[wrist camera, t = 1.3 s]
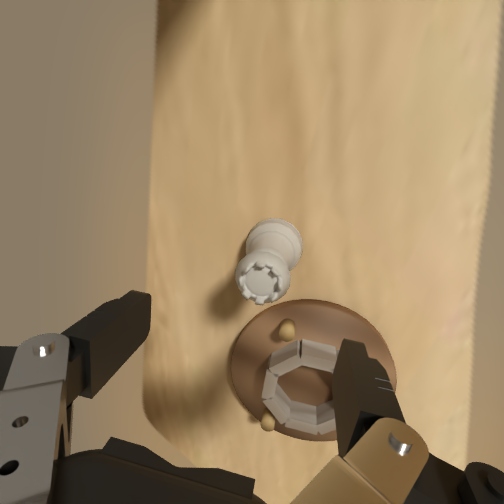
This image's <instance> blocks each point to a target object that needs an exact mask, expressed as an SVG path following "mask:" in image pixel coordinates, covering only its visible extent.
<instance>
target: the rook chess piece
mask: <svg viewBox="0 0 504 504" xmlns="http://www.w3.org/2000/svg"><path fill="white" fill-rule="evenodd" d="M302 249H303V241H302V238H301V236H300V233H299V231H298V230H297V229H296V228H295V227H294V226H293V225H292V224H291V223H289V222H287V221H285V220H283V219H274V218H269V219H267V220H264V221H261V222H259V223H258V224H257V225H256V226H254V227H253V228H252V229H251V232H250V234H249V236H248V238H247V241H246V256H245V257H244V258H243V259H242V260H240V261H239V264H238V266H237V268H236V270H235V281H236V283H237V286H238V288H239V290H240V291H241V292H242V293H241V295H242V296H243V297H244V298H245V299H246V300H248V298H249V299H251V300H253V301H255V304H257V305H264V303H270V302H271V303H272V302H274V301H277V300H278V299H280V298H281V297H282V296H284V295H285V294H286V292H287V290H288V288H289V286H290V277H291V275H290V272H289V271H290V270H292V269H293V268H294V267H295V266H296V265H297V263H298V261H299V259H300V258H301V255H302Z"/></svg>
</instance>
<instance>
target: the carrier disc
mask: <svg viewBox="0 0 504 504" xmlns="http://www.w3.org/2000/svg"><path fill="white" fill-rule="evenodd" d="M344 338H345V339H350V340H354V341H359V342H363V343H364V344H365V347H366V350H367V353H368V356H369V357H370V358H374V359H377V360H378V361H379V362H380V363H381V365H382V366H383V367H384V368H385V369H386V371H387V374H388V377H389V379H390V383H391V385H392V387H393V392H394V393H395V391H396V383H397V378H396V369H395V365H394V361H393V359H392V356H391V354H390V351H389V349H388V347H387V344H386V343H385V341H384V339H383V338H382V336H381V335H380V333H379V332H378V331H377V330H376V328H375V327H374V326H373V325H372V324H370V323H369V322H368V321H367V320H366V319H365V318H363V317H362V316H360V315H359V314H357V313H356V312H354V311H352V310H350V309H348V308H346V307H343V306H341V305H338V304H335V303H331V302H327V301H321V300H312V299H301V300H292V301H287V302H282V303H280V304H277V305H274V306H271V307H269V308H267V309H265V310H264V311H262V312H261V313H259V314H258V315H256V316H255V317H254V318H253V319H252V320H251V321H250V322H249V323H248V324H247V325H246V326H245V328H244V329H243V331H242V332H241V334H240V336H239V338H238V341H237V343H236V346H235V349H234V351H233V355H232V360H231V375H232V380H233V384H234V387H235V390H236V392H237V394H238V396H239V398H240V400H241V401H242V403H243V404H244V405H245V407H246V408H247V409H248V410H249V411H250V412H251V413H252V414H253V415H254V416H255V417H256V418H257V419H258V420H259V421H261V427H262V429H263V430H265V431H272V430H273V429H274V430H275V431H278V432H280V433H282V434H284V435H287V436H290V437H294V438H298V439H302V440H309V441H335V440H337V432H336V423H335V413H334V404H333V394H332V376H333V371H334V367H335V364H336V360H337V357H338V353H339V350H340V346H341V343H342V340H343V339H344Z"/></svg>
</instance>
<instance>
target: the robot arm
mask: <svg viewBox="0 0 504 504" xmlns="http://www.w3.org/2000/svg"><path fill="white" fill-rule="evenodd" d="M150 321H151V295H150V294H148V293H143V292H139V291H134V290H131V291H129V292H128V293H127V294H125V295H124V296H123V297H121V298H120V299H114V300H111V301H109V302H106V303H104V304H102V305H101V306H99V307H98V308H97V309H95V311H92V312H91V313H89V314H88V315H87V317H86V316H85V317H84V318H82V319H81V320H80V321H78V322H77V323H75V324H74V325H72V326H71V327H70V328H68V329H67V330H65V331H64V332H62V333H61V334H57V333H48V334H42V335H38V336H35V337H32V338H30V339H28V340H26V341H24V342H23V343H21V345H19V346H18V347H12V346H10V347H9V346H0V504H266V503H265V502H264V501H263V500H262V499H260V498H259V497H257V496H256V495H254V494H253V489H254V483H255V479H253V478H249V477H246V476H242V475H239V474H236V473H232V472H229V471H226V470H222V469H219V468H181V467H176V466H174V465H172V464H170V463H169V462H167V461H166V460H164V459H163V458H161V457H160V456H158V455H157V454H155V453H154V452H152V451H151V450H149V449H148V448H146V447H144V446H141V445H137V444H134V443H131V442H127V441H124V440H120V439H117V438H113V437H111V438H110V439H109V440H108V442H107V443H106V445H105V446H104V447H103V449H95V450H88V451H83V452H78V453H75V454H72V455H70V451H71V435H72V419H73V401H74V400H75V399H76V398H77V396H78V395H79V396H83V397H86V398H90V399H92V398H93V397H94V396H95V395H96V394H97V393H98V391H99V390H100V389H101V388H102V387H103V386H104V385H105V384H106V383H107V382H108V380H109V379H110V378H111V377H112V376H113V375H114V374H115V373H116V372H117V371H118V369H119V368H120V367H121V366H122V365H123V364H124V363H125V362H126V361H127V359H128V358H129V357H130V356H131V355H132V354H133V353H134V352H135V351H136V350H137V349H138V347H139V346H140V345H141V344H142V343H143V342H144V341H145V339H146V338H147V336H148V333H149V330H150ZM332 394H333V404H334V413H335V423H336V432H337V442H338V451H339V454H338V455H336V456H335V457H333V458H332V459H331V461H330V462H329V463H328V464H327V465H326V466H325V467H324V468H323V469H322V470H321V471H320V472H319V473H318V474H317V475H316V476H315V478H314V479H313V480H312V481H311V482H310V483H309V484H308V485H307V486H306V487H305V488H304V489H303V490H302V491H301V492H300V493H299V495H298V496H297V497H296V498H295V499H294V500H293V501H292V502H291V503H290V504H504V473H503V472H502V471H500V470H498V469H497V468H495V467H493V466H491V465H488V464H485V463H481V462H472V463H469V464H468V465H467V467H466V468H465V470H464V471H462V470H460V469H458V468H456V467H454V466H452V465H450V464H448V463H447V462H445V461H443V460H441V459H439V458H437V457H435V456H434V455H432V454H431V453H429V451H428V447H427V445H426V443H425V441H424V440H423V438H422V437H421V436H420V435H419V434H418V433H417V432H416V431H415V430H414V429H413V428H411V427H410V426H409V425H407V424H406V422H405V420H404V417H403V414H402V411H401V409H400V406H399V403H398V401H397V398H396V395H395V393H394V392H393V387H392V385H391V383H390V379H389V377H388V374H387V371H386V369H385V368H384V367H383V366H382V365H381V363H380V362H379V361H378V360H377V359H374V358H370V357H369V356H368V353H367V350H366V347H365V344H364V343H363V342H359V341H354V340H350V339H345V338H344V339H343V340H342V343H341V346H340V350H339V353H338V357H337V360H336V364H335V367H334V371H333V376H332Z"/></svg>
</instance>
